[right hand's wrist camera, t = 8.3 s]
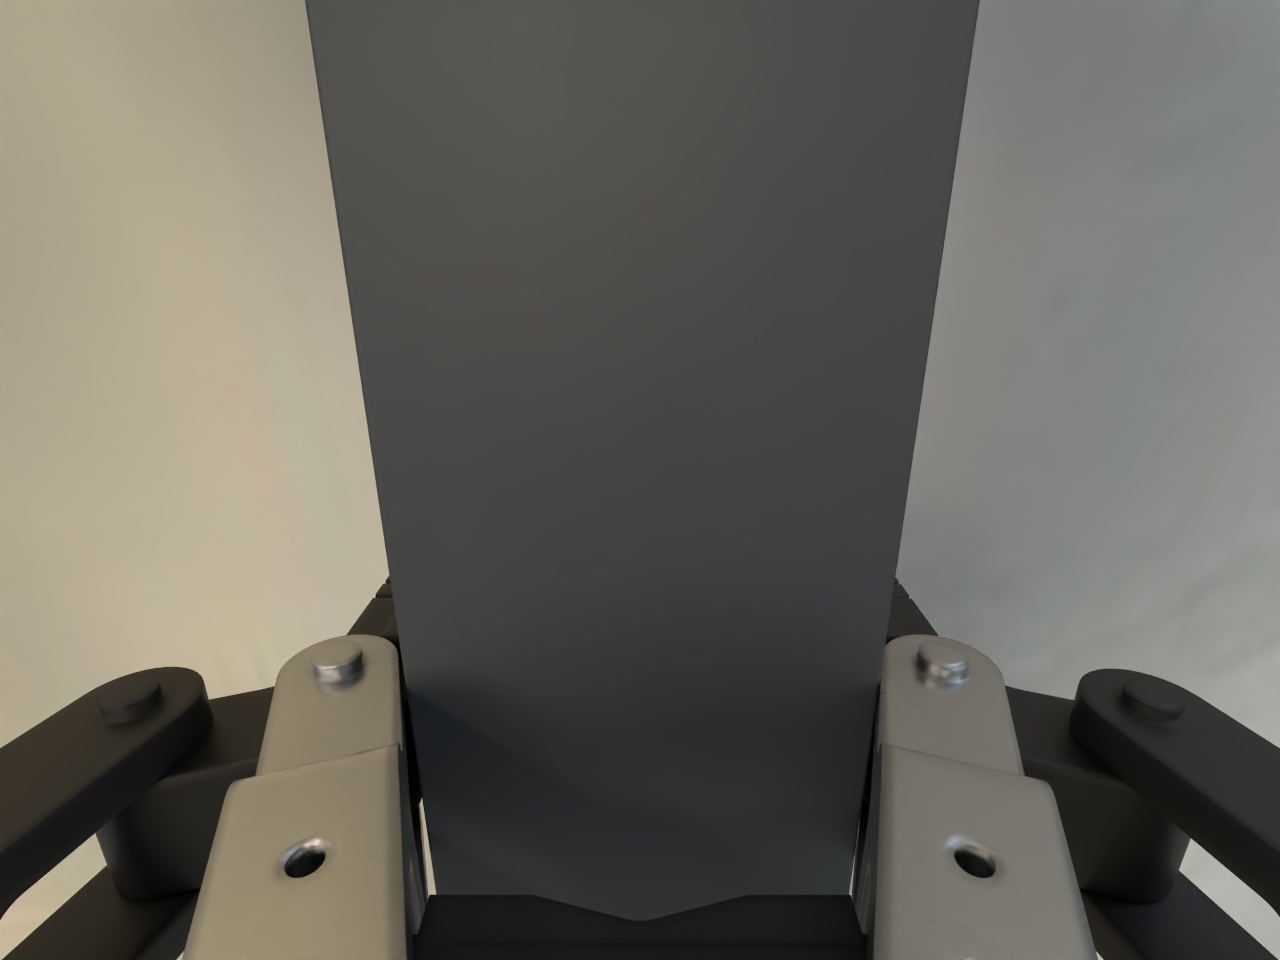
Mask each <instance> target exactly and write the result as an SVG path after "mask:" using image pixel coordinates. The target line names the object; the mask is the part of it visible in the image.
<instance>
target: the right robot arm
mask: <svg viewBox="0 0 1280 960" xmlns="http://www.w3.org/2000/svg"><path fill="white" fill-rule="evenodd" d="M421 799H422V792H421V785H420V779H419V772H418V765H417V758H416V751H415V745H414V738H413V731H412V724H411V717H410V711H409V704H408V697H407V690H406V683H405V676H404V670H403V663H402V656H401V649H400V642H399V636H398V629H397V622H396V615H395V608H394V602H393V595H392V588H391V581H390V575H389V577H388V578H387V579H386V584H383V585H382V586H381V588H380V589H379V591H378V592H377V593H376V598H373V599H372V600H371V602H370V603H369V604H368V606H367V607H366V609H365V610H364V611H363V613H362V614H361V616H360V617H359V618H358V620H357V621H356V622H355V624H354V625H353V627H352V628H351V629H350V631H349V632H348V634H347V635H346V636H340V637H336V638H331V639H328V640H325V641H322V642H319V643H317V644H314V645H312V646H310V647H308V648H306V649H304V650H302V651H301V652H299V653H297V654H296V655H294V656H293V657H292V658H291V659H289V660H288V661H287V662H286V663H285V664H284V665H283V667H282V668H281V670H280V671H279V673H278V676H277V679H276V684H275V686H274V687H270V688H266V689H262V690H257V691H251V692H246V693H241V694H236V695H231V696H226V697H221V698H216V699H211V700H209V699H208V695H207V692H206V688H205V684H204V681H203V678H202V676H201V675H200V674H199V673H197V672H195V671H193V670H191V669H187V668H182V667H162V668H154V669H148V670H143V671H139V672H136V673H132V674H129V675H126V676H123V677H120V678H117V679H115V680H112V681H110V682H107V683H105V684H103V685H101V686H99V687H97V688H95V689H94V690H92V691H90V692H88V693H87V694H85V695H83V696H82V697H80V698H79V699H77V700H76V701H74V702H72V703H71V704H69V705H68V706H66V707H65V708H63V709H61V710H60V711H58V712H57V713H55V714H54V715H52V716H50V717H49V718H47V719H46V720H44V721H43V722H41V723H39V724H38V725H36V726H35V727H33V728H32V729H30V730H28V731H27V732H25V733H24V734H22V735H21V736H19V737H17V738H16V739H14V740H13V741H11V742H10V743H8V744H7V745H5V746H3V747H2V748H0V920H1V918H2V916H3V915H4V914H5V912H6V911H7V910H8V908H9V907H10V906H11V905H12V904H13V903H14V901H15V900H16V899H17V898H19V897H20V896H21V895H22V894H23V893H24V892H25V891H26V890H28V889H29V888H30V887H31V886H32V885H34V884H35V883H36V882H37V881H38V880H40V879H41V878H42V877H43V876H44V875H45V874H47V873H48V872H49V871H50V870H51V869H53V868H54V867H55V866H56V865H57V864H59V863H60V862H61V861H62V860H63V859H65V858H66V857H67V856H68V855H69V854H71V853H72V852H73V851H74V850H75V849H77V848H78V847H79V846H80V845H81V844H82V843H84V842H85V841H86V840H87V839H88V838H90V837H91V836H92V835H93V834H94V833H96V836H97V839H98V841H99V844H100V847H101V849H102V852H103V855H104V858H105V860H106V863H107V866H106V867H105V868H103V869H102V870H101V871H100V872H99V873H98V874H97V875H96V876H95V877H93V878H92V879H91V880H90V881H89V882H88V883H87V884H86V885H85V886H83V887H82V888H81V889H80V890H79V891H78V892H77V893H76V894H75V895H73V896H72V897H71V898H70V899H69V900H68V901H67V902H66V903H64V904H63V905H62V906H61V907H60V908H59V909H58V910H57V911H56V912H54V913H53V914H52V915H51V916H50V917H49V918H48V919H47V920H46V921H44V922H43V923H42V924H41V925H40V926H39V927H38V928H37V929H36V930H34V931H33V932H32V933H31V934H30V935H29V936H28V937H27V938H26V939H24V940H23V941H22V942H21V943H20V944H19V945H18V946H17V947H15V948H14V949H13V950H12V951H11V952H10V953H9V954H8V955H7V956H5V957H4V958H3V959H2V960H176V959H177V958H178V957H179V956H180V955H181V954H182V952H183V951H184V954H183V958H182V960H1098V958H1097V954H1096V951H1097V952H1098V953H1099V955H1100V956H1101V957H1102V958H1103V959H1104V960H1278V959H1277V958H1276V957H1275V956H1273V955H1272V954H1271V953H1270V952H1269V951H1268V950H1267V949H1266V948H1265V947H1263V946H1262V945H1261V944H1260V943H1259V942H1258V941H1257V940H1256V939H1254V938H1253V937H1252V936H1251V935H1250V934H1249V933H1248V932H1247V931H1246V930H1244V929H1243V928H1242V927H1241V926H1240V925H1239V924H1238V923H1237V922H1236V921H1234V920H1233V919H1232V918H1231V917H1230V916H1229V915H1228V914H1227V913H1226V912H1224V911H1223V910H1222V909H1221V908H1220V907H1219V906H1218V905H1217V904H1216V903H1214V902H1213V901H1212V900H1211V899H1210V898H1209V897H1208V896H1207V895H1205V894H1204V893H1203V892H1202V891H1201V890H1200V889H1199V888H1198V887H1197V886H1195V885H1194V884H1193V883H1192V882H1191V881H1190V880H1189V879H1188V878H1187V877H1185V876H1184V875H1183V874H1182V873H1181V872H1180V871H1179V868H1180V865H1181V862H1182V860H1183V857H1184V854H1185V852H1186V849H1187V847H1188V844H1189V841H1190V839H1191V838H1192V839H1193V840H1194V841H1195V842H1196V843H1198V844H1199V845H1200V846H1201V847H1202V848H1204V849H1205V850H1206V851H1207V852H1208V853H1209V854H1211V855H1212V856H1213V857H1214V858H1215V859H1217V860H1218V861H1219V862H1220V863H1221V864H1223V865H1224V866H1225V867H1226V868H1227V869H1229V870H1230V871H1231V872H1232V873H1233V874H1235V875H1236V876H1237V877H1238V878H1239V879H1241V880H1242V881H1243V882H1244V883H1245V884H1246V885H1248V886H1249V887H1250V888H1251V889H1252V890H1254V891H1255V892H1256V893H1257V894H1258V895H1260V896H1261V897H1262V898H1263V899H1264V900H1265V901H1266V902H1267V903H1268V904H1269V905H1270V906H1271V907H1272V908H1273V909H1274V910H1275V911H1276V913H1277V914H1278V915H1279V917H1280V748H1278V747H1277V746H1275V745H1274V744H1272V743H1270V742H1269V741H1267V740H1266V739H1264V738H1263V737H1261V736H1259V735H1258V734H1256V733H1255V732H1253V731H1252V730H1250V729H1248V728H1247V727H1245V726H1244V725H1242V724H1241V723H1239V722H1237V721H1236V720H1234V719H1233V718H1231V717H1230V716H1228V715H1226V714H1225V713H1223V712H1222V711H1220V710H1219V709H1217V708H1215V707H1214V706H1212V705H1211V704H1209V703H1208V702H1206V701H1204V700H1203V699H1201V698H1200V697H1198V696H1196V695H1195V694H1193V693H1191V692H1190V691H1188V690H1186V689H1184V688H1182V687H1180V686H1178V685H1176V684H1173V683H1171V682H1168V681H1166V680H1163V679H1160V678H1158V677H1155V676H1152V675H1148V674H1144V673H1140V672H1135V671H1130V670H1122V669H1100V670H1095V671H1091V672H1089V673H1087V674H1085V675H1084V676H1083V677H1082V678H1081V680H1080V682H1079V685H1078V689H1077V692H1076V696H1075V700H1070V699H1064V698H1059V697H1054V696H1049V695H1044V694H1039V693H1034V692H1029V691H1024V690H1020V689H1015V688H1012V687H1008V686H1005V684H1004V679H1003V676H1002V673H1001V671H1000V670H999V668H998V667H997V665H996V664H995V663H994V662H993V661H992V660H991V659H989V658H988V657H987V656H986V655H984V654H983V653H981V652H979V651H978V650H976V649H974V648H972V647H970V646H968V645H966V644H963V643H961V642H958V641H955V640H952V639H949V638H944V637H940V636H938V634H937V633H936V632H935V630H934V629H933V628H932V626H931V625H930V623H929V622H928V621H927V619H926V618H925V617H924V615H923V614H922V613H921V611H920V610H919V608H918V607H917V606H916V604H915V603H914V602H913V600H912V599H909V595H908V593H907V592H906V591H905V589H904V588H903V587H902V585H899V581H898V580H897V578H896V577H895V582H894V589H893V595H892V602H891V609H890V616H889V623H888V630H887V636H886V643H885V650H884V657H883V664H882V671H881V677H880V684H879V691H878V698H877V705H876V712H875V718H874V725H873V732H872V739H871V746H870V753H869V759H868V766H867V773H866V780H865V787H864V794H863V801H862V807H861V814H860V821H859V828H858V835H857V842H856V849H855V862H854V875H853V888H852V899H851V895H744V896H741V897H737V898H733V899H729V900H725V901H721V902H717V903H713V904H710V905H706V906H702V907H698V908H694V909H690V910H686V911H682V912H678V913H675V914H671V915H667V916H663V917H659V918H655V919H651V920H645V921H635V920H629V919H625V918H621V917H617V916H613V915H609V914H605V913H602V912H598V911H594V910H590V909H586V908H582V907H578V906H574V905H570V904H567V903H563V902H559V901H555V900H551V899H547V898H543V897H539V896H536V895H429V899H428V888H427V875H426V862H425V849H424V837H423V824H422V815H421V809H420V801H421Z"/></svg>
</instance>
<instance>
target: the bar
mask: <svg viewBox="0 0 1280 960" xmlns="http://www.w3.org/2000/svg"><path fill="white" fill-rule="evenodd" d="M305 2H306V9H307V16H308V23H309V30H310V36H311V43H312V50H313V57H314V64H315V71H316V77H317V84H318V91H319V98H320V105H321V111H322V118H323V125H324V132H325V139H326V145H327V152H328V159H329V166H330V173H331V179H332V186H333V193H334V200H335V207H336V214H337V220H338V227H339V234H340V241H341V248H342V254H343V261H344V268H345V275H346V282H347V288H348V295H349V302H350V309H351V316H352V322H353V329H354V336H355V343H356V350H357V356H358V363H359V370H360V377H361V384H362V391H363V397H364V404H365V411H366V418H367V425H368V431H369V438H370V445H371V452H372V459H373V465H374V472H375V479H376V486H377V493H378V499H379V506H380V513H381V520H382V527H383V534H384V540H385V547H386V554H387V561H388V568H389V574H390V581H391V588H392V595H393V602H394V608H395V615H396V622H397V629H398V636H399V642H400V649H401V656H402V663H403V670H404V676H405V683H406V690H407V697H408V704H409V711H410V717H411V724H412V731H413V738H414V745H415V751H416V758H417V765H418V772H419V779H420V785H421V792H422V799H423V806H424V813H425V819H426V826H427V833H428V840H429V847H430V854H431V860H432V867H433V874H434V881H435V888H436V894H437V895H536V896H539V897H543V898H547V899H551V900H555V901H559V902H563V903H567V904H570V905H574V906H578V907H582V908H586V909H590V910H594V911H598V912H602V913H605V914H609V915H613V916H617V917H621V918H625V919H629V920H635V921H645V920H651V919H655V918H659V917H663V916H667V915H671V914H675V913H678V912H682V911H686V910H690V909H694V908H698V907H702V906H706V905H710V904H713V903H717V902H721V901H725V900H729V899H733V898H737V897H741V896H744V895H849V889H850V883H851V876H852V869H853V862H854V855H855V848H856V842H857V835H858V828H859V821H860V814H861V807H862V801H863V794H864V787H865V780H866V773H867V766H868V759H869V753H870V746H871V739H872V732H873V725H874V718H875V712H876V705H877V698H878V691H879V684H880V677H881V671H882V664H883V657H884V650H885V643H886V636H887V630H888V623H889V616H890V609H891V602H892V595H893V589H894V582H895V575H896V568H897V561H898V554H899V547H900V541H901V534H902V527H903V520H904V513H905V506H906V500H907V493H908V486H909V479H910V472H911V465H912V459H913V452H914V445H915V438H916V431H917V424H918V418H919V411H920V404H921V397H922V390H923V383H924V376H925V370H926V363H927V356H928V349H929V342H930V335H931V329H932V322H933V315H934V308H935V301H936V294H937V288H938V281H939V274H940V267H941V260H942V253H943V247H944V240H945V233H946V226H947V219H948V212H949V206H950V199H951V192H952V185H953V178H954V171H955V164H956V158H957V151H958V144H959V137H960V130H961V123H962V117H963V110H964V103H965V96H966V89H967V82H968V76H969V69H970V62H971V55H972V48H973V41H974V35H975V28H976V21H977V14H978V7H979V0H305Z"/></svg>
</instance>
